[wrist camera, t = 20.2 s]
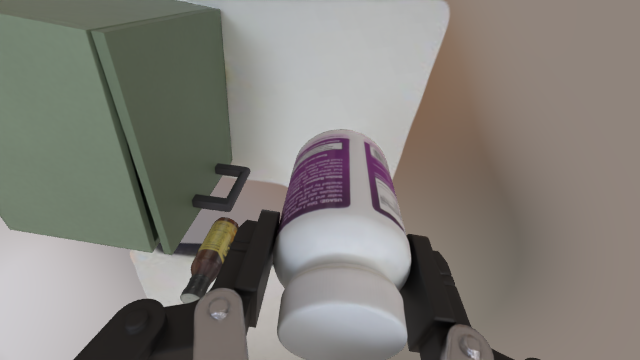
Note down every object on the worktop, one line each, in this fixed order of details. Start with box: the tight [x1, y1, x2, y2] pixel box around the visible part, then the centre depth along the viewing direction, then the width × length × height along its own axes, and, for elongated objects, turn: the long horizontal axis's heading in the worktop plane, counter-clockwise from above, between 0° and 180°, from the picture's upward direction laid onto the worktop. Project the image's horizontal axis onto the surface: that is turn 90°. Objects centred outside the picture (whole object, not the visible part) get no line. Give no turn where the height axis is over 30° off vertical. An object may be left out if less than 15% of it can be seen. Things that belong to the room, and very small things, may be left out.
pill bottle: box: [273, 129, 411, 360], centre depth 12 cm, size 5×5×10 cm
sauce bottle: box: [180, 217, 239, 304], centre depth 58 cm, size 6×6×20 cm
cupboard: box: [0, 0, 212, 253], centre depth 37 cm, size 18×26×24 cm
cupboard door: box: [91, 8, 250, 255], centre depth 38 cm, size 7×26×24 cm, turn 173°
